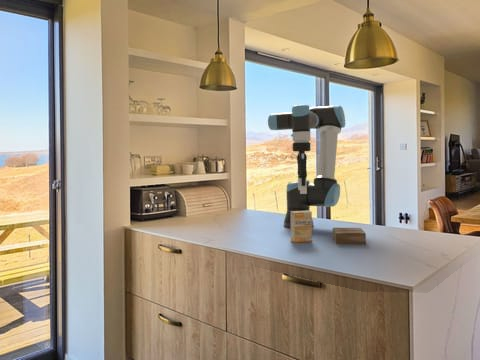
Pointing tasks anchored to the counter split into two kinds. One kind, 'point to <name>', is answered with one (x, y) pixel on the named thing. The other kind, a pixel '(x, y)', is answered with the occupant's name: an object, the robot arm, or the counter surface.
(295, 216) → the supplement box
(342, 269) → the counter surface
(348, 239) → the block
